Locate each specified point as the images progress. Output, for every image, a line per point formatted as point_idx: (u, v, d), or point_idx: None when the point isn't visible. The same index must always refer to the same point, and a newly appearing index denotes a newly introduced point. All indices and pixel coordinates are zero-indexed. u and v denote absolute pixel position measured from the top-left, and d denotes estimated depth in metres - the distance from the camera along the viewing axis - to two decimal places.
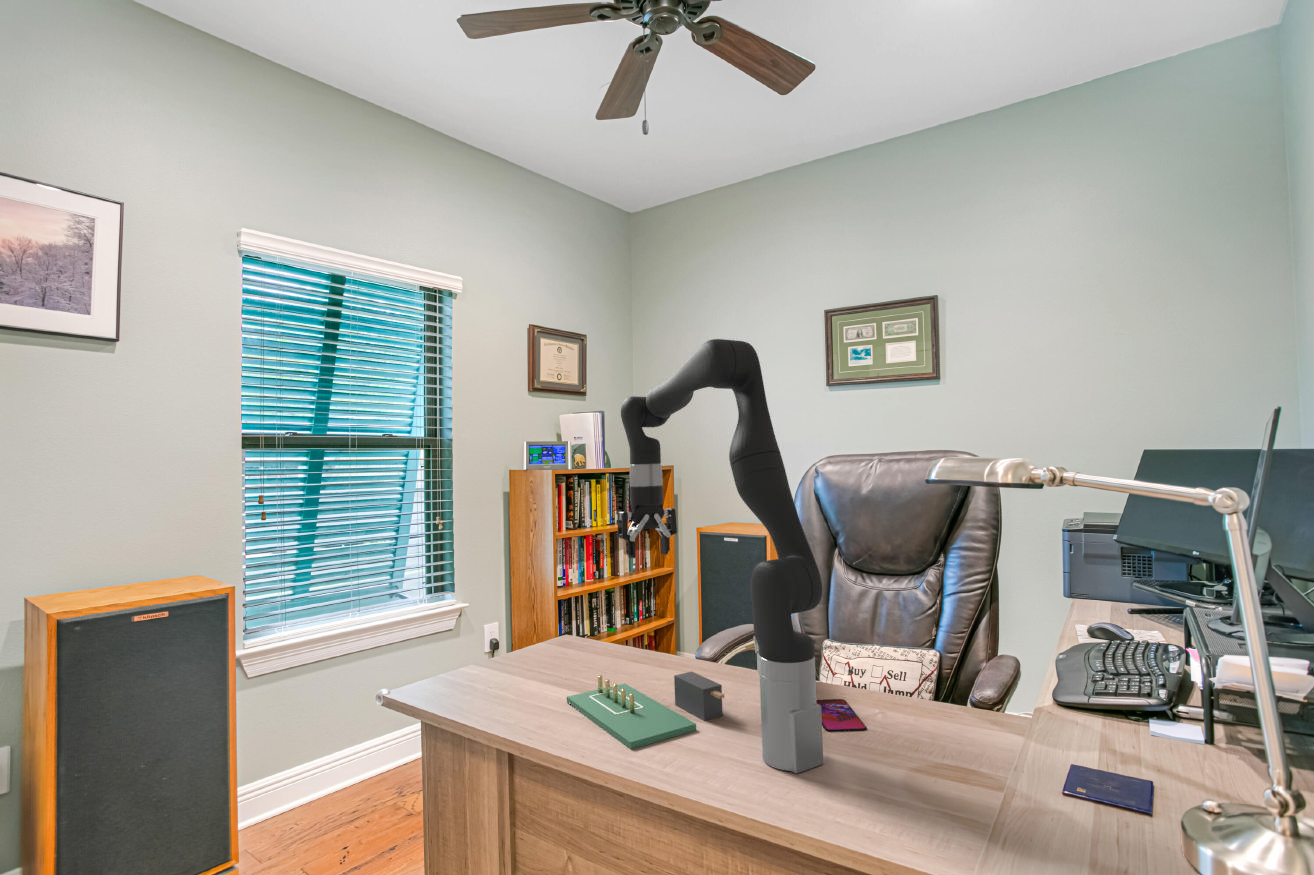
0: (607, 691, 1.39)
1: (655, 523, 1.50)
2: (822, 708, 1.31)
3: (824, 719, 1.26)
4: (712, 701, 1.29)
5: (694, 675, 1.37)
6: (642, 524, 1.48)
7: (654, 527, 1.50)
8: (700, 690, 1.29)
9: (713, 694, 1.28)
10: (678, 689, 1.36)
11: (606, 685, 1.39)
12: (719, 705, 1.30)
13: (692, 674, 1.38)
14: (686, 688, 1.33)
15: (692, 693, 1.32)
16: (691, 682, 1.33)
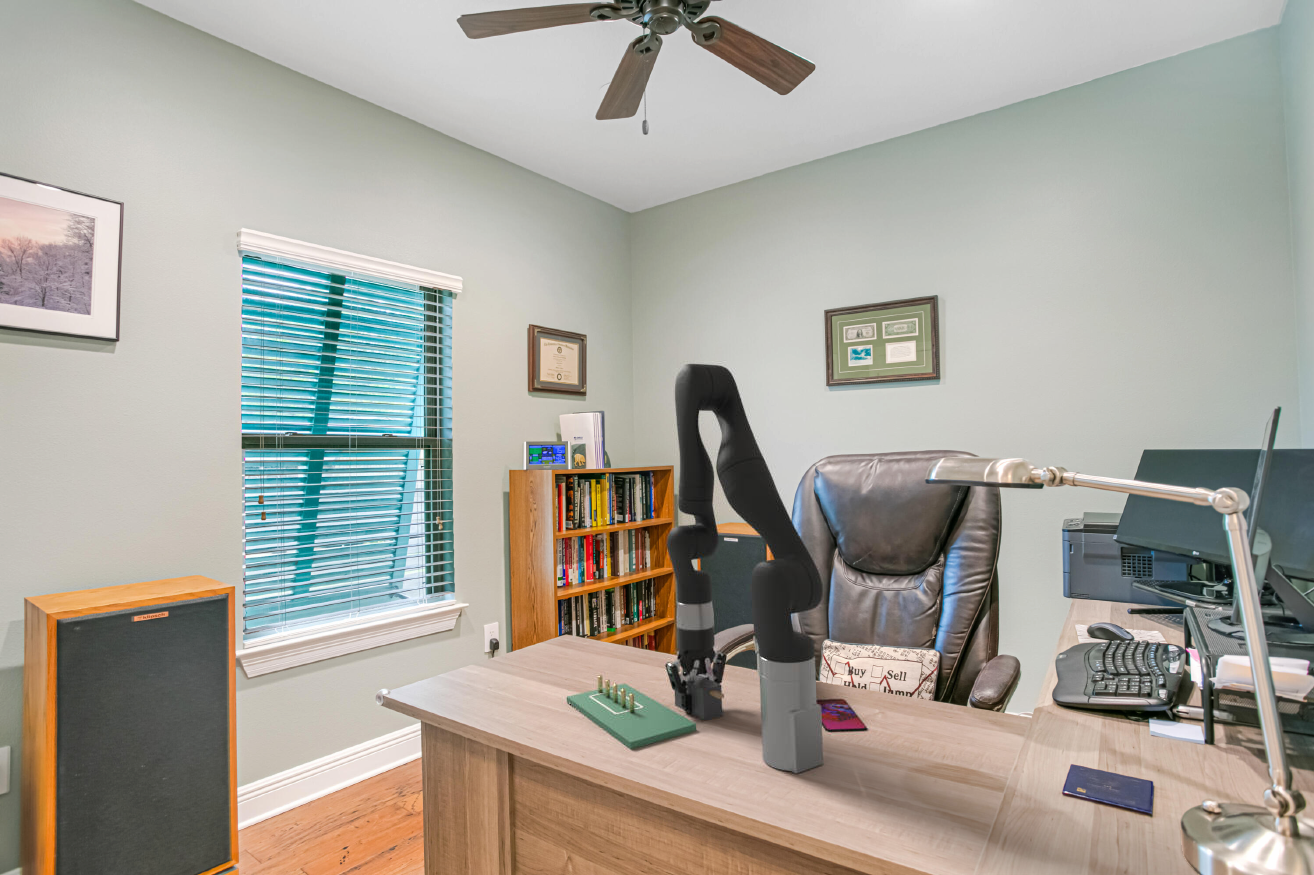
0: (607, 691, 1.39)
1: (703, 668, 1.34)
2: (822, 708, 1.31)
3: (824, 719, 1.26)
4: (712, 701, 1.29)
5: None
6: (694, 672, 1.32)
7: (701, 672, 1.33)
8: (700, 690, 1.29)
9: (713, 694, 1.28)
10: None
11: (606, 685, 1.39)
12: (719, 705, 1.30)
13: None
14: None
15: (692, 693, 1.32)
16: None
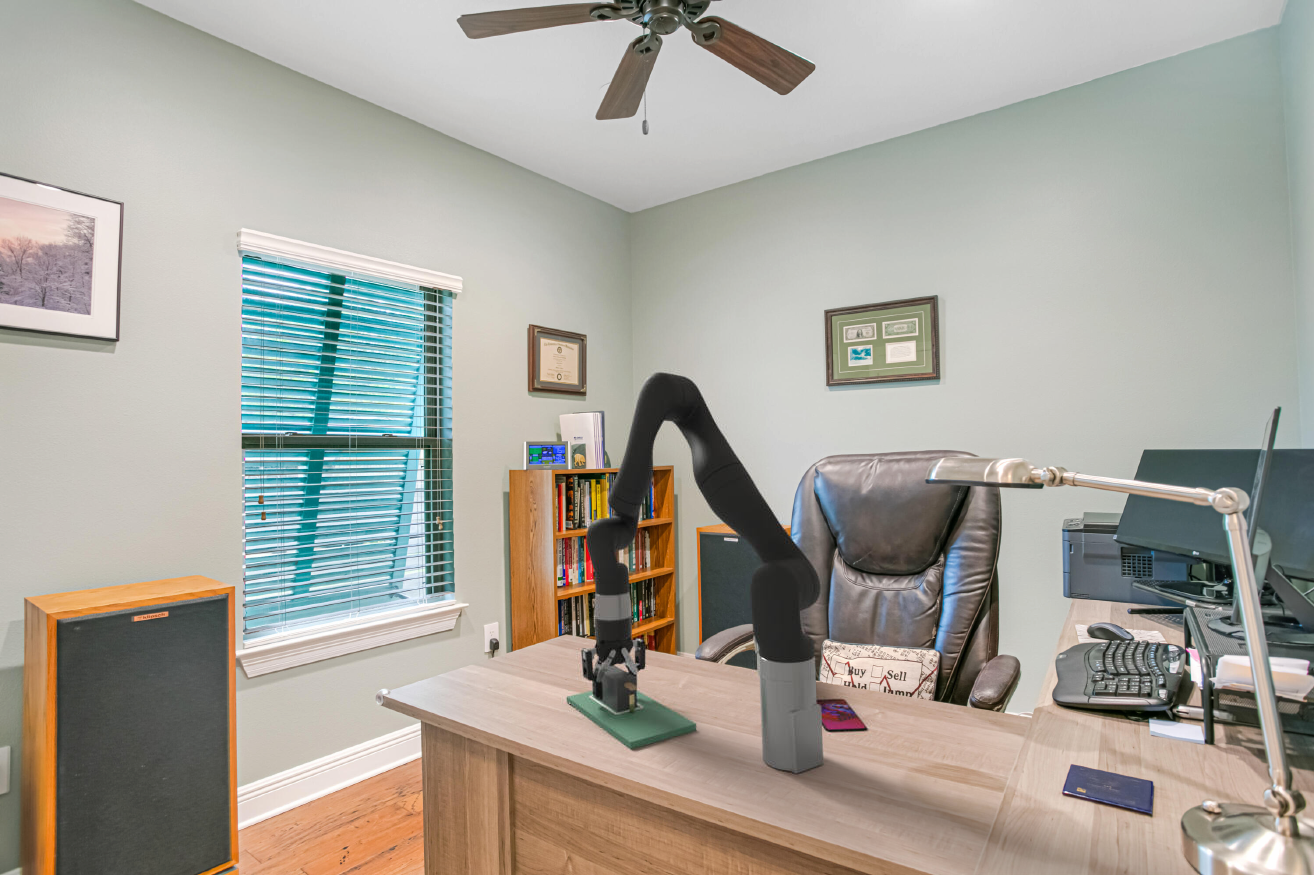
0: None
1: (622, 658, 1.36)
2: (822, 708, 1.31)
3: (825, 719, 1.26)
4: (626, 693, 1.32)
5: (613, 668, 1.40)
6: (609, 661, 1.34)
7: (620, 662, 1.36)
8: (614, 682, 1.32)
9: (626, 686, 1.31)
10: None
11: None
12: None
13: (611, 667, 1.40)
14: (603, 680, 1.36)
15: (608, 685, 1.34)
16: (607, 674, 1.35)
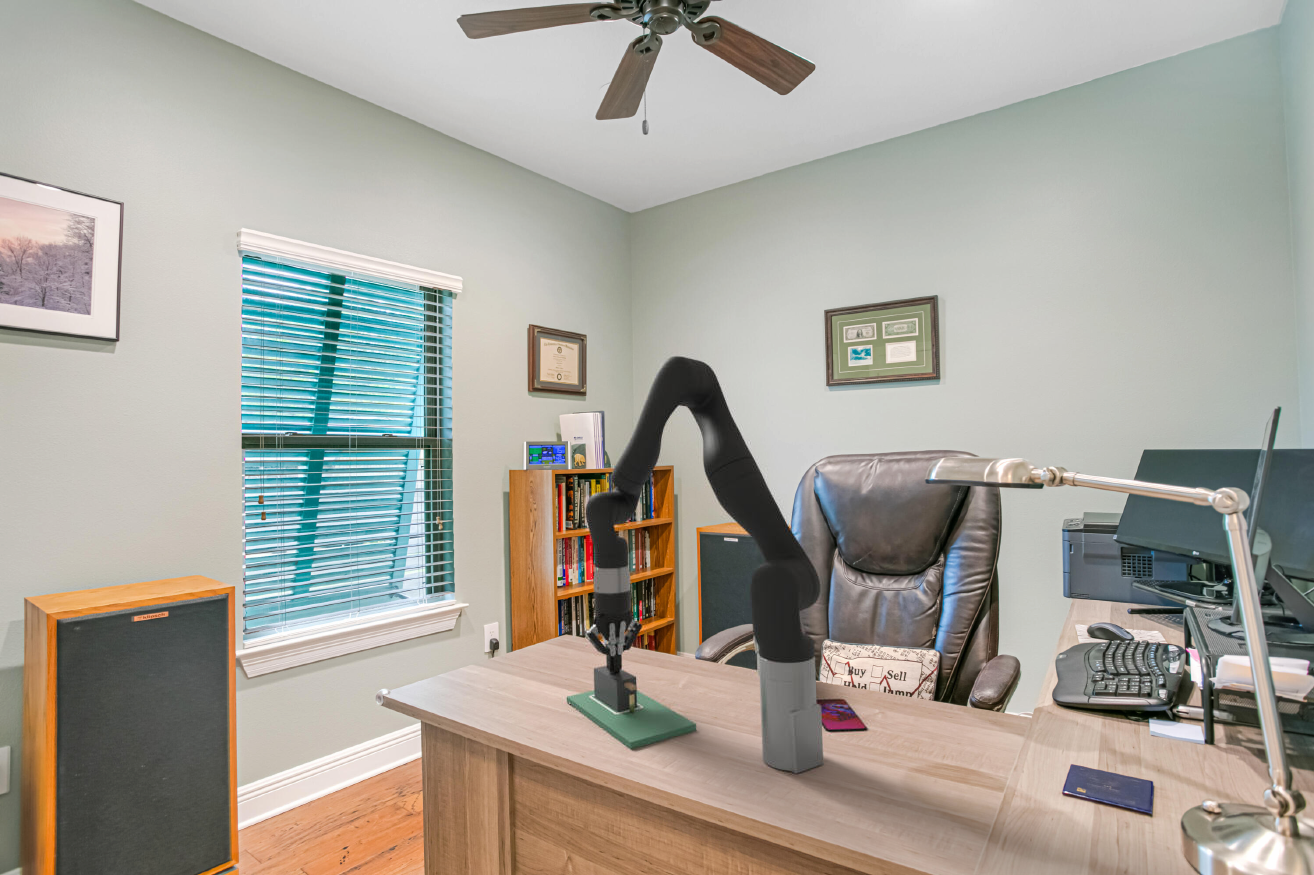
0: None
1: (617, 630, 1.36)
2: (822, 708, 1.31)
3: (825, 719, 1.26)
4: (626, 693, 1.32)
5: None
6: (613, 634, 1.35)
7: None
8: (614, 682, 1.32)
9: (626, 686, 1.31)
10: (596, 681, 1.39)
11: None
12: None
13: None
14: (603, 680, 1.36)
15: (608, 685, 1.34)
16: (607, 674, 1.35)
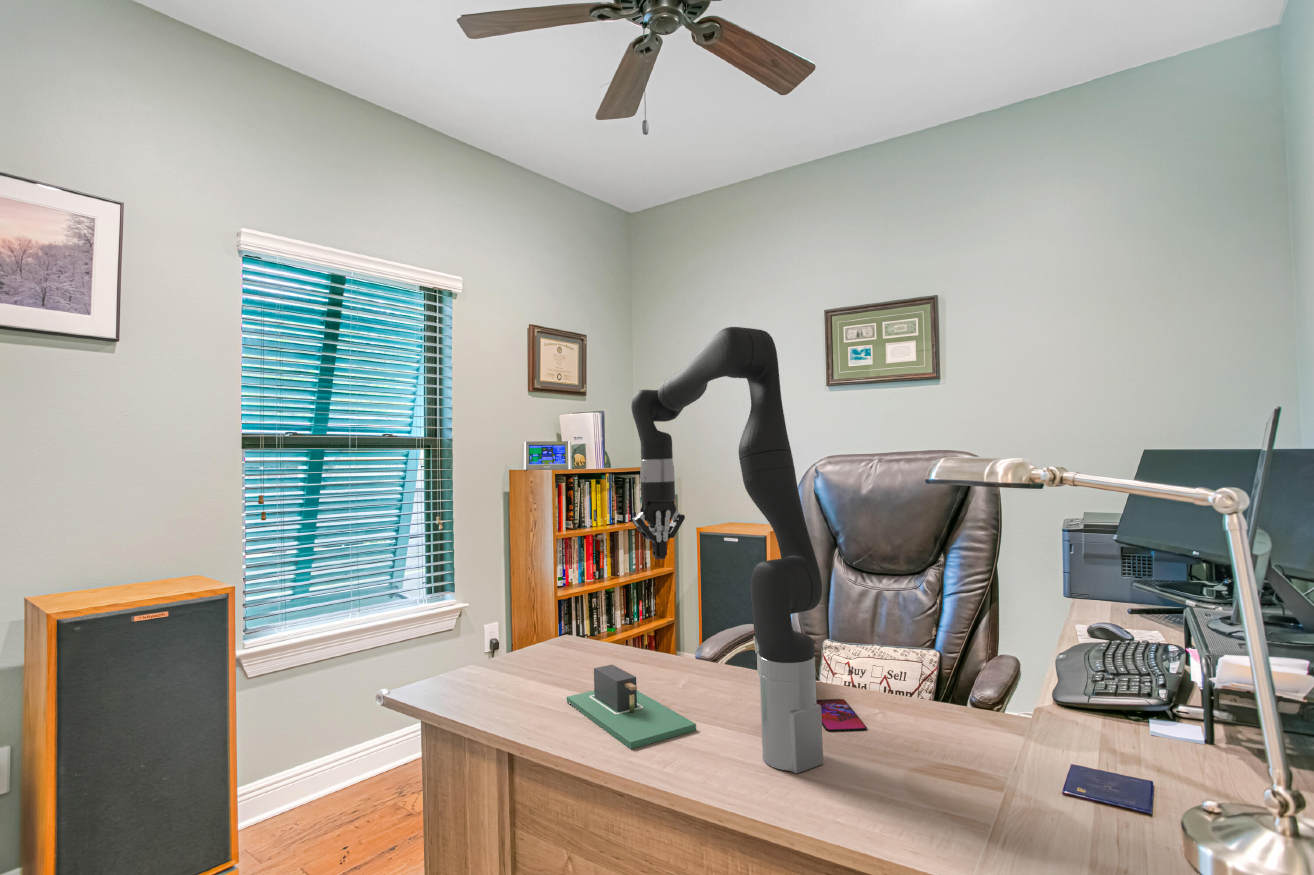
0: None
1: (662, 519, 1.45)
2: (822, 708, 1.31)
3: (825, 719, 1.26)
4: (626, 693, 1.32)
5: (613, 668, 1.40)
6: (659, 522, 1.44)
7: None
8: (614, 682, 1.32)
9: (626, 686, 1.31)
10: (596, 681, 1.39)
11: None
12: None
13: (611, 667, 1.40)
14: (603, 680, 1.36)
15: (608, 685, 1.34)
16: (607, 674, 1.35)
